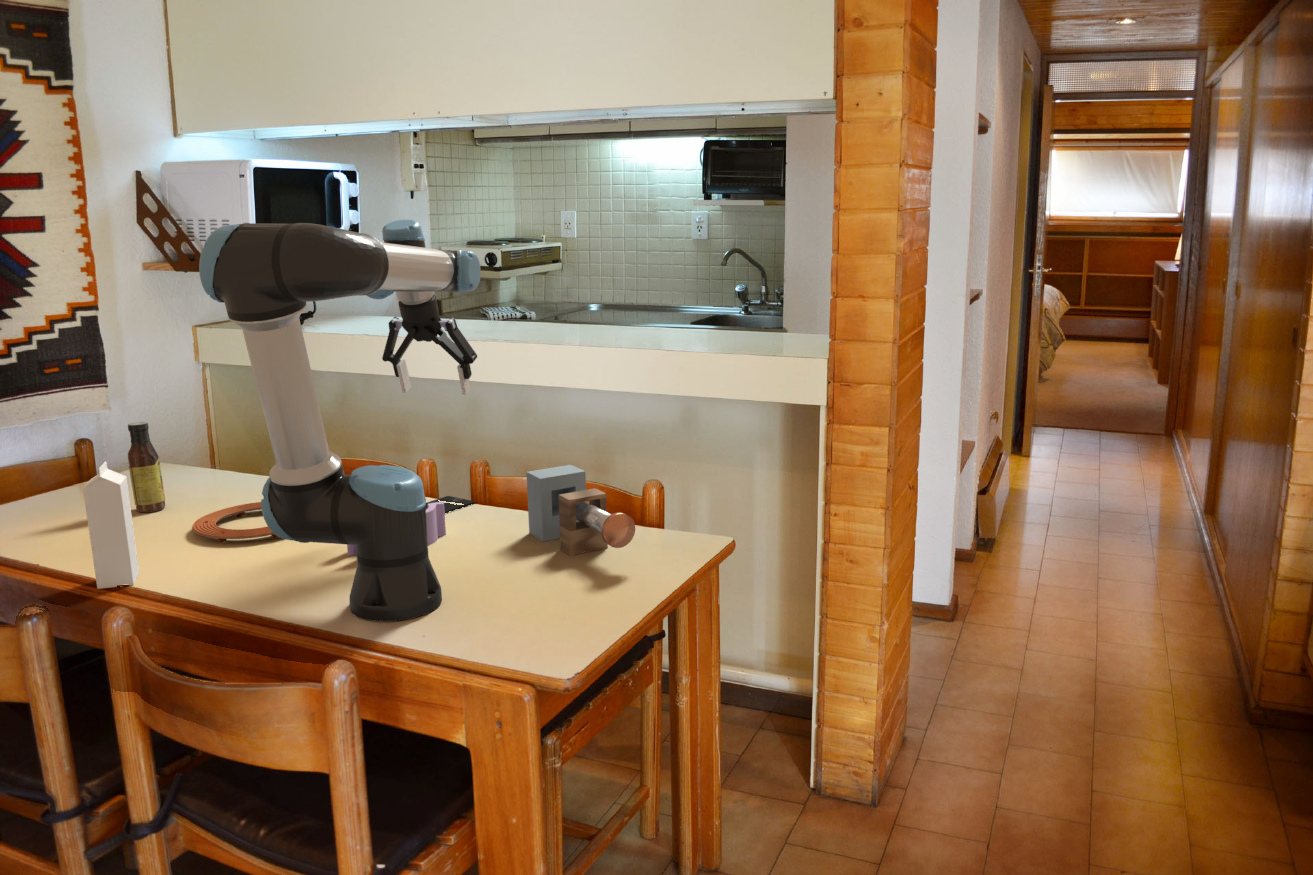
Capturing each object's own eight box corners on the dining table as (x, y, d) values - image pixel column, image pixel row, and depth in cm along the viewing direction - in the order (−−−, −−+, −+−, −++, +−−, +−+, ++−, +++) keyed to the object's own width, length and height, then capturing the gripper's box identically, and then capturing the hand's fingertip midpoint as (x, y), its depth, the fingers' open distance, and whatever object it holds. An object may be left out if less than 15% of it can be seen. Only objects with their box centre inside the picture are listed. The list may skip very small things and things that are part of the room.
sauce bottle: (172, 507, 235) (161, 422, 230) (146, 515, 230) (134, 427, 225) (154, 503, 238) (143, 419, 234) (128, 510, 233) (117, 424, 229)
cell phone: (476, 505, 235) (475, 501, 234) (416, 525, 220) (415, 521, 220) (448, 499, 240) (448, 495, 239) (387, 519, 225) (387, 515, 225)
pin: (605, 550, 188) (604, 517, 187) (561, 526, 203) (560, 494, 201) (635, 544, 191) (634, 511, 190) (590, 520, 206) (589, 489, 205)
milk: (97, 589, 186) (78, 470, 180) (104, 577, 191) (86, 462, 186) (134, 585, 187) (117, 467, 182) (140, 573, 193) (124, 459, 188)
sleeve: (571, 555, 199) (569, 500, 197) (560, 548, 203) (558, 494, 200) (607, 547, 203) (606, 493, 201) (596, 541, 207) (595, 488, 204)
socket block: (542, 541, 207) (540, 478, 204) (529, 533, 213) (526, 471, 210) (587, 532, 212) (585, 471, 209) (572, 524, 218) (570, 464, 215)
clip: (375, 564, 196) (372, 529, 195) (334, 552, 204) (331, 518, 202) (455, 537, 212) (453, 504, 210) (415, 526, 219) (412, 494, 218)
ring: (166, 542, 212) (164, 531, 211) (242, 507, 236) (241, 497, 235) (276, 550, 206) (275, 538, 205) (343, 513, 230) (342, 503, 229)
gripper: (481, 290, 208) (498, 384, 219) (368, 289, 214) (390, 380, 225) (467, 306, 202) (485, 401, 213) (351, 304, 208) (374, 397, 219)
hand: (436, 390), depth 219 cm, fingers open, 13 cm apart
